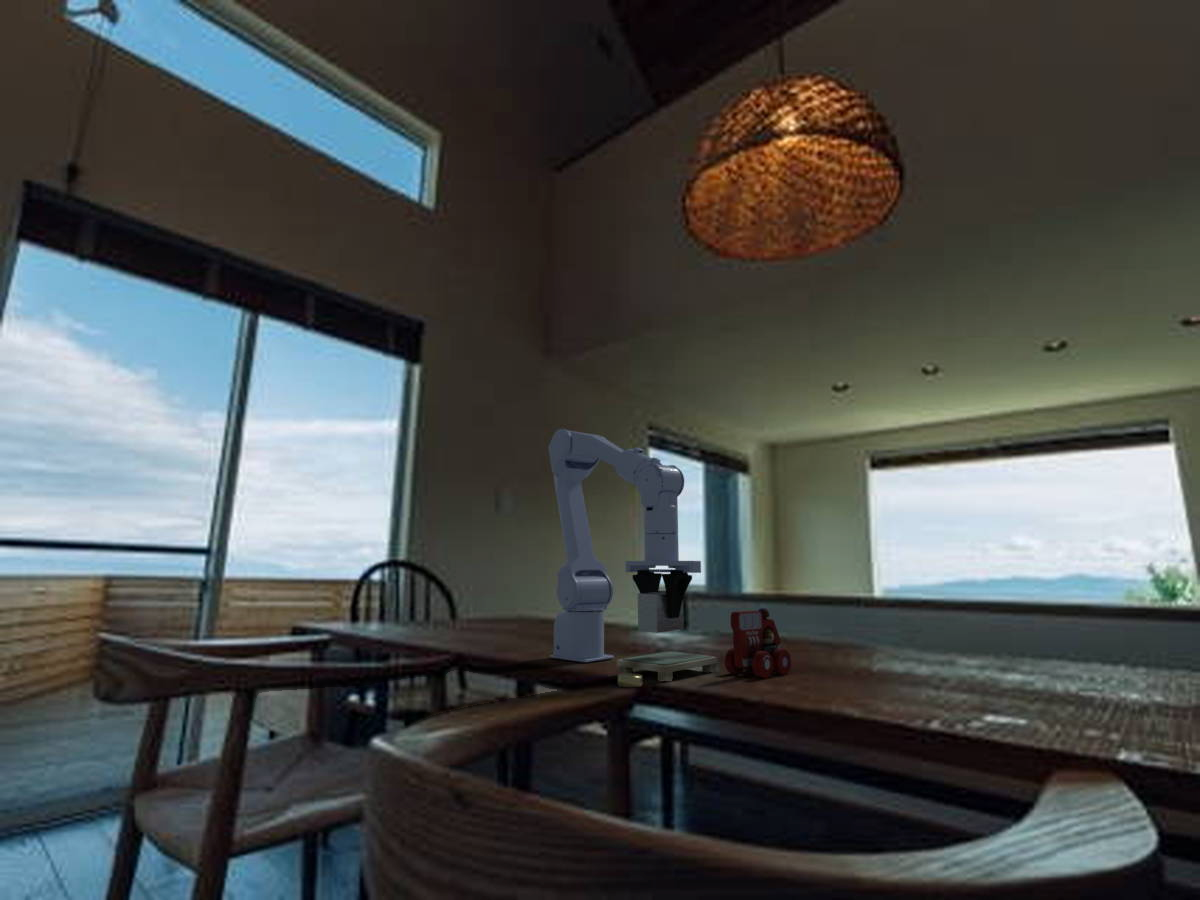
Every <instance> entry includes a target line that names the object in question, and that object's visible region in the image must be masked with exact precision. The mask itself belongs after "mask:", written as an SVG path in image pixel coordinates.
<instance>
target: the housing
mask: <svg viewBox="0 0 1200 900" xmlns="http://www.w3.org/2000/svg"><path fill="white" fill-rule="evenodd" d="M684 622H685V621H684V600H683V601H682V605H681V610H680V615H679V618H668V612H667V595H666V589H665V590H659V591H658V592H652V593H640V592H639V593H637V628H638V629H637V631H638V632H646V633H655V634H657V633H658V634H659V633H666V632H667V633H668V632H672V631H679V630H680V631H681V630H684V629H685V628H684V627H685V626H684V625H685V623H684Z"/></svg>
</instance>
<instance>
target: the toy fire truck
mask: <svg viewBox="0 0 1200 900" xmlns="http://www.w3.org/2000/svg"><path fill="white" fill-rule="evenodd" d="M730 628H731V630H732V643H733V647H732V648H730V649H728V650H727V651H726V654H725V657H724V666H725V669H726V671H727V672H728V673H729V674H731V675H740V674H742V673H743V672H744V671H751V672H753V674H754V675H755V676H756V677H757V678H759V679H768V678H770V677H771V676H772V675H773V673H774V674H776V675H781V676H785V675H788V674H789V673H790V671H791V667H792V660H791V654H790V653H789V651H788V650H787V649H784V648H782V641H781V637H780V635H779V631H778V629H777V626H776V623H775V620H774V619H772V618H770V612H769V610H768V609H767V608H764V607H761V608H759V609H758V610H739V611H738V610H737V611H732V612H731V614H730Z"/></svg>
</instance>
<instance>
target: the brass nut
mask: <svg viewBox="0 0 1200 900" xmlns="http://www.w3.org/2000/svg"><path fill="white" fill-rule="evenodd" d="M617 686H619V687H624V688H637V687H639V688H640V687H642V686H643V675H642V674H638V673H633V674H620V675H619V674H618V675H617Z"/></svg>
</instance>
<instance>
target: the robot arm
mask: <svg viewBox="0 0 1200 900" xmlns="http://www.w3.org/2000/svg"><path fill="white" fill-rule="evenodd" d="M547 448H548V456H549V460H550V466H551V472H552V474H553V481H554V482H553V484H554V489H555V494H556V500H557V508H558V514H559V519H560V527H561V531H562V539H563V544H564V550H565V556H566V562H565V563H564V564H563V565H562V566H561V567H560V568H559V570H557V573H556V575H557V587H556V595H557V600H558V603H559V604H560V606H561V607H562V610H561V611H560V612H558V614H557V615H556V616H555V618H554V623H553V654H550V656H549V657H550V658H551V659H559V660H566V661H573V662H579V663H591V662H596V661H603V660H609V659H614V658H615V656H614V655H613V654H605V611H607V610H608V606H609V605H610V603H611V602H612V600H613V596H614V586H613V583H612V580H611V578H610V577H609V575H608V572H607V567H606V565H605V564H603V563H602V562H601V561H600V560H598V558H597V557H595V553H594V548H593V540H592V536H591V531H590V524H589V518H588V514H587V509H586V503H585V497H584V492H583V486H582V482H583V480H584V479H587V478H588V477H589V476H590V474H592V472H593V471H594V469H595V468H596V467H597V465H598V464H599V463H600V461H603V462H605V463H607V464H609V465H611V466H614V467H615V472H616V474H617V475H618V477H620V478H621V479H623V480H625V481H627V482H628V483H630V484H631V485H633V486H635V487H636V489H637V491H638V493H639V495H640V499H641V500H640V501H641V502H640V504H641V505H642V507H643V513H644V514H643V515H644V516H643V517H644V523H643V526H644V528H643V529H644V560H625V572H626V573H636V574H632V580H633V582H634V584H635V585H636V587H637V589H638V592H639V593H652V592H658V591H660V585H661V580H663V584H664V587H665V590H666V595H667V612H668V618H679V615H680V610H681V605H682V601H683V602H684V597H685V594H686V593H687V590H688V587H689V585H690V583H691V582H692V580H693V575H692V574H695V573H697V574H698V573H699V574H700V573H702V561H701V560H679V555H680V554H679V519H678V518H679V510H678V509H679V507H678V504H679V502H678V497H679V496H680V495H681V494H682V492H683V490H684V488H685V476H684V473H683V471H682V469H680V468H678V466H677V465H675V464H674V465H673V464H669V465H665V464H664V465H663V464H662V463H661V459H659V457H651V456H649V455H646V454H645V450H644V449H643V448H640V447H634V448H627V449H625V450H624V449H623V448H621V447H620V446H618V445H616V444H614V443H613V442H612V441H610V440H609V439H607V438H606V437H604V436H601V435H599V434H596V433H593V434H591V433H585V432H579V431H573V430H567V429H565V428H558V429H557V430H556V431H555V433H554V434H553V436H552V438H551V440H550V443H549V445H548V447H547ZM664 566H667V568H668V569H665V568H663V569H662V568H660V569H659V568H658V569H657V568H656V567H664ZM689 573H691V574H689Z"/></svg>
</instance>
